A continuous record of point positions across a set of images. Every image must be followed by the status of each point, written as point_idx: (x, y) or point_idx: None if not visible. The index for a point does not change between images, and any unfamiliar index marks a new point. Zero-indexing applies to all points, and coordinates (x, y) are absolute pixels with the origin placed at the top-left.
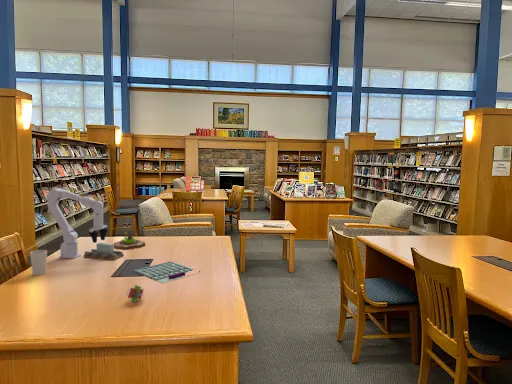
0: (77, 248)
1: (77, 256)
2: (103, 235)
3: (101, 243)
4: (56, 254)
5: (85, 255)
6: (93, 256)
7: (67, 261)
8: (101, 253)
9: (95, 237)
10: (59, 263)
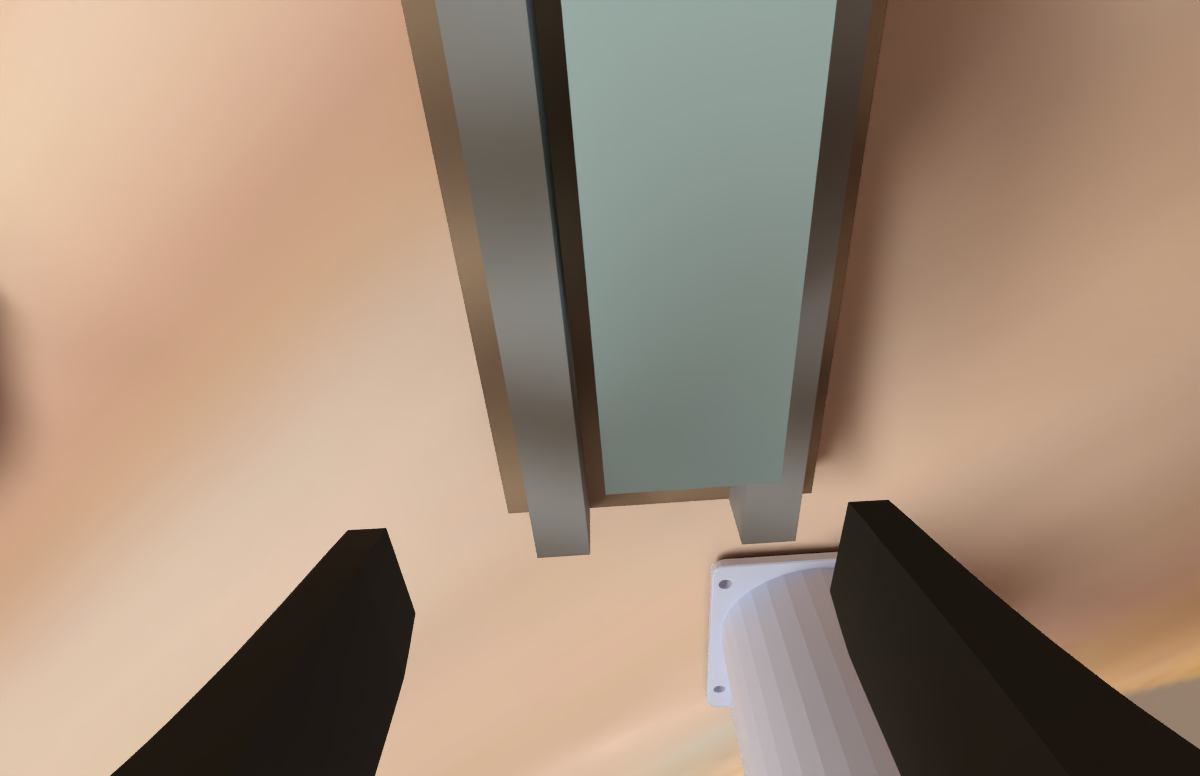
0: (805, 692)
1: (803, 555)
2: (300, 742)
3: (659, 385)
4: (742, 771)
5: (812, 460)
6: (841, 284)
7: (1080, 505)
8: (859, 89)
9: (1132, 711)
10: (1196, 523)
